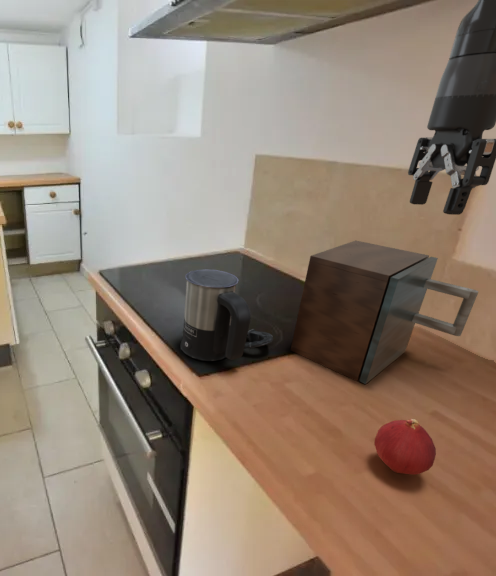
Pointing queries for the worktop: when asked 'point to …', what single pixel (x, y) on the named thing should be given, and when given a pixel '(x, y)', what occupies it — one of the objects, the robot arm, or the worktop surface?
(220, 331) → the milk frother
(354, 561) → the worktop surface
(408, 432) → the onion
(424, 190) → the robot arm
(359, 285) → the cupboard
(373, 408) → the worktop surface
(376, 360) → the door
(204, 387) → the worktop surface
